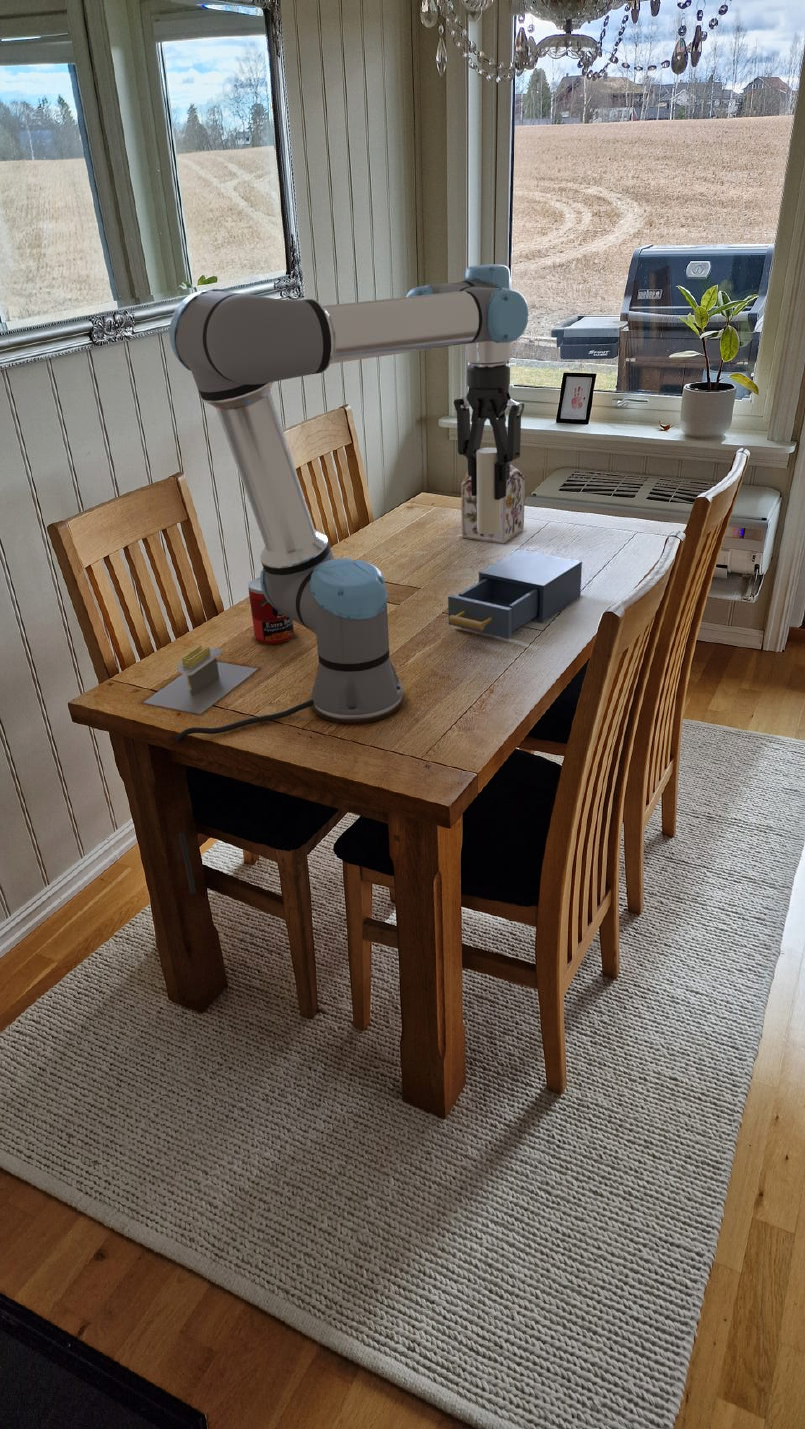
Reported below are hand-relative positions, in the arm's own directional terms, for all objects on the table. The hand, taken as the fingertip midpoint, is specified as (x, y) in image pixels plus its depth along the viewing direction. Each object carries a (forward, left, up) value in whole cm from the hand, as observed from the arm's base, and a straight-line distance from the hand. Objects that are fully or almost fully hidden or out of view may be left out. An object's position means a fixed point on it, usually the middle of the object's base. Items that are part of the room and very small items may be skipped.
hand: (488, 495), depth 178 cm
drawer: (-3, -4, -24) cm, 24 cm away
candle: (0, 0, -7) cm, 7 cm away
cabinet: (+11, 0, -24) cm, 27 cm away
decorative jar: (+37, +35, -25) cm, 57 cm away
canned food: (-35, +24, -25) cm, 49 cm away
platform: (-56, +16, -25) cm, 63 cm away
